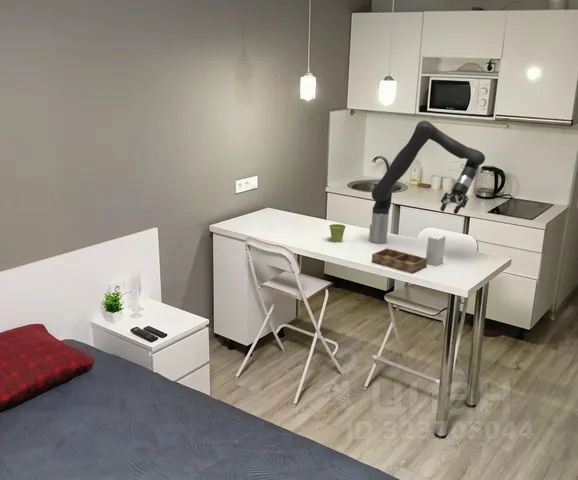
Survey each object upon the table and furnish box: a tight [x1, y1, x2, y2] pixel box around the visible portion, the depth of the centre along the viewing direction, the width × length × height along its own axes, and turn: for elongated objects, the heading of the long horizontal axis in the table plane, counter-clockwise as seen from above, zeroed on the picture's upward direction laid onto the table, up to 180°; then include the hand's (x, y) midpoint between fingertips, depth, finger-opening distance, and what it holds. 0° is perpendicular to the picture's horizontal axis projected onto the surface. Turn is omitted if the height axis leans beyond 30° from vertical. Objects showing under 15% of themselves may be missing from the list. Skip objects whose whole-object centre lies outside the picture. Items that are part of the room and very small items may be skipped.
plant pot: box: [328, 223, 346, 243], centre depth 350 cm, size 9×9×9 cm
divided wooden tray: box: [371, 247, 428, 274], centre depth 313 cm, size 24×14×4 cm, turn 49°
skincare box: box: [425, 233, 446, 267], centre depth 315 cm, size 8×6×15 cm
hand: (448, 211), depth 317 cm, fingers open, 8 cm apart
